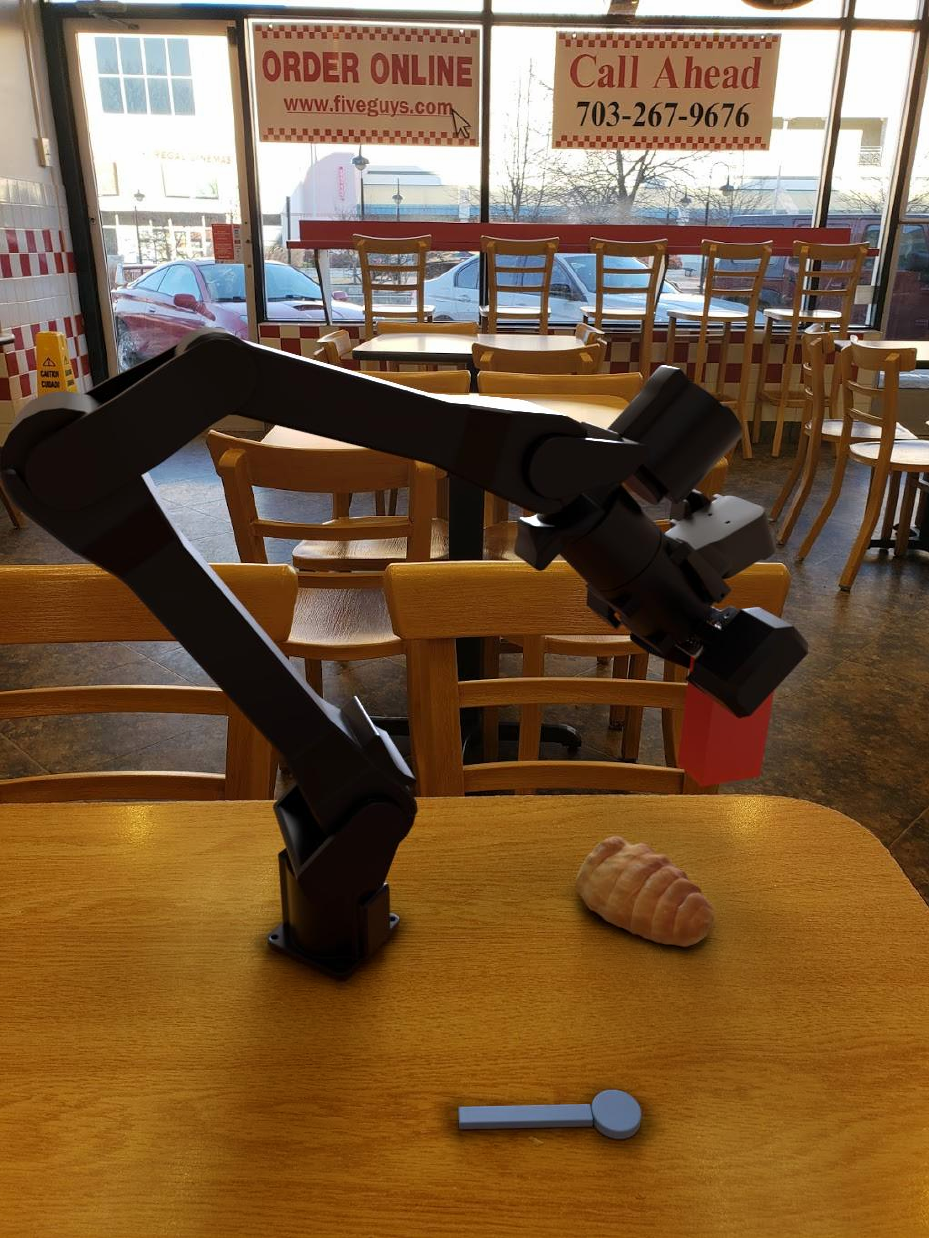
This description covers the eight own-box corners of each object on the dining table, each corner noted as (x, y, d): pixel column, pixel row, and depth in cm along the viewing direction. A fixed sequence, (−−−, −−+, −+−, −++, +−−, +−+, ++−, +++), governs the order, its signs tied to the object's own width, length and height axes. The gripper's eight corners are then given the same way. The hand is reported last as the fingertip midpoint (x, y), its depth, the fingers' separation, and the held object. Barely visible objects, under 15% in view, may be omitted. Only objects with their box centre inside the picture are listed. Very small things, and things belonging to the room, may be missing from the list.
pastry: (731, 921, 64) (738, 875, 63) (676, 971, 60) (682, 922, 59) (620, 861, 71) (624, 818, 69) (562, 902, 66) (565, 857, 65)
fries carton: (700, 786, 68) (721, 640, 63) (676, 763, 71) (695, 621, 66) (760, 776, 69) (784, 633, 65) (734, 754, 72) (755, 615, 68)
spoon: (459, 1143, 48) (459, 1134, 48) (457, 1100, 50) (457, 1092, 50) (645, 1139, 48) (646, 1130, 48) (634, 1096, 51) (635, 1088, 51)
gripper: (805, 495, 52) (922, 654, 60) (634, 436, 68) (743, 567, 76) (669, 644, 52) (802, 783, 60) (530, 550, 68) (649, 668, 76)
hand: (745, 687), depth 68 cm, fingers closed on fries carton, 3 cm apart
